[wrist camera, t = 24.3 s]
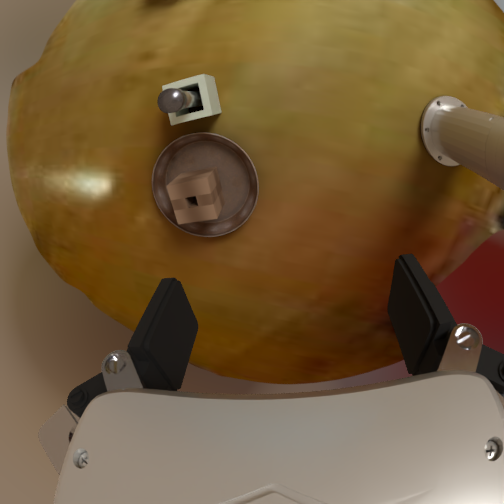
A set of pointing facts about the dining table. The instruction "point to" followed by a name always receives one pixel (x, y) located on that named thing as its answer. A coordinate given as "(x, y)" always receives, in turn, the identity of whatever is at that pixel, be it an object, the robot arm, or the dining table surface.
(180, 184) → the narrow block
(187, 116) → the wide bore block
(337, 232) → the dining table surface
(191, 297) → the dining table surface
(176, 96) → the cylinder
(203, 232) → the plant saucer
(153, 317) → the robot arm
